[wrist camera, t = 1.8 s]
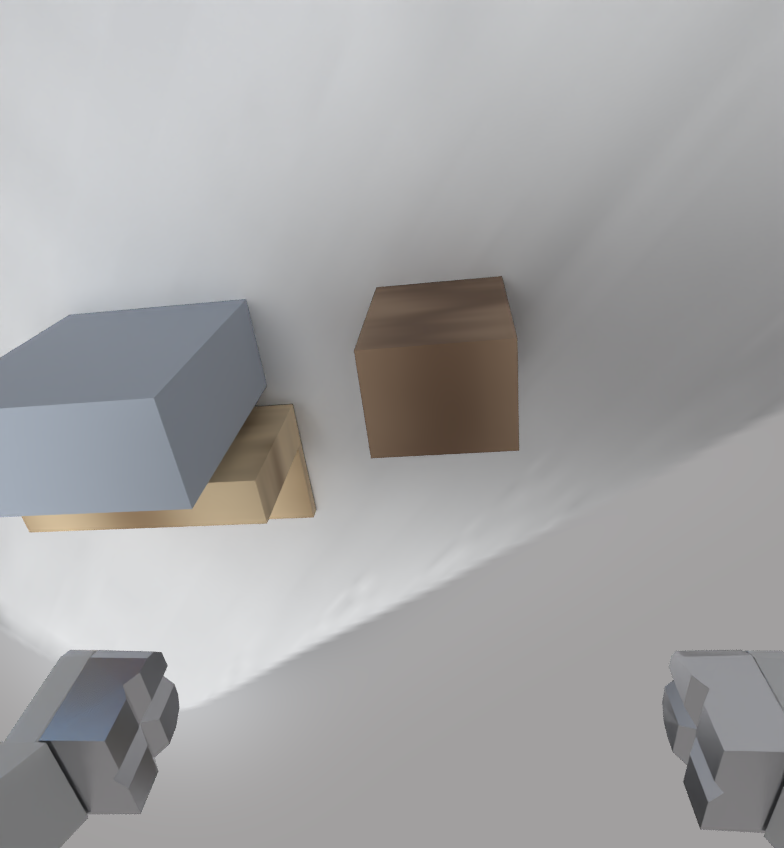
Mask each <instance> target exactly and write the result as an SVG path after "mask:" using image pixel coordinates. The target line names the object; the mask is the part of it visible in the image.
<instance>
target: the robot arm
mask: <svg viewBox="0 0 784 848" xmlns="http://www.w3.org/2000/svg"><path fill="white" fill-rule="evenodd" d="M166 668H167V663H166V661H165V659H164V657H163V654H162V652H146V651H111V650H70V651H68V652H67V653H66V654H64V655H63V656H61V657H60V659H59V660H58V662H57V663H56V665H55V666H54V668H53V669H52V671H51V672H50V674H49V675H48V677H47V678H46V679H45V681H44V682H43V684H42V686H41V687H40V688H39V690H38V692H37V693H36V695H35V696H34V697H33V699H32V701H31V702H30V704H29V705H28V706H27V708H26V710H25V711H24V712H23V714H22V716H21V717H20V719H19V720H18V721H17V723H16V724H15V726H14V727H13V729H12V730H11V732H10V734H9V735H8V736H7V738H6V739H5V741H4V742H3V741H2V742H0V848H60V847H61V846H62V845H63V844H64V843H65V842H66V841H67V840H68V839H69V838H70V837H71V835H72V834H73V833H74V832H75V831H76V830H77V829H78V828H79V827H80V826H81V825H82V824H83V823H84V822H85V821H86V819H88V815H87V814H141V812H142V809H143V807H144V805H145V802H146V800H147V797H148V795H149V793H150V790H151V788H152V785H153V783H154V781H155V778H156V776H157V773H158V768H157V765H156V761H155V757H156V756H157V755H158V754H159V753H160V752H161V751H162V750H163V749H164V748H166V747H167V746H168V745H169V744H170V741H171V739H172V736H173V734H174V731H175V728H176V724H177V718H178V712H179V699H178V693H177V690H176V687H175V684H174V683H172V682H171V681H170V680H168V679H167V678H166V677H164V676H163V675H164V673H165V671H166ZM669 669H670V672H671V674H672V676H673V679H674V680H673V681H672V682H670V683H669V684H668V685H667V686H665V688H664V695H663V701H662V705H663V717H664V718H663V719H664V724H665V729H666V733H667V737H668V740H669V743H670V746H671V748H672V751H673V753H675V755H677V756H678V757H679V758H680V759H681V760H682V761H683V762H684V763H685V764H686V765H687V769H686V773H685V777H684V781H683V782H684V785H685V788H686V791H687V794H688V797H689V799H690V802H691V805H692V807H693V810H694V813H695V816H696V818H697V821H698V824H699V827H700V829H703V830H722V831H740V832H757V833H765V834H764V837H765V838H766V839H767V840H768V841H769V843H770V844H771V845H772V846H773V847H774V848H784V652H783V651H742V650H698V651H697V650H695V651H675V653H674V654H673V655H672V656H671V661H670V665H669Z"/></svg>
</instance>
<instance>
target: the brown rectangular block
mask: <svg viewBox="0 0 784 848" xmlns="http://www.w3.org/2000/svg"><path fill="white" fill-rule="evenodd" d="M354 354H355V360H356V366H357V373H358V379H359V385H360V392H361V398H362V404H363V410H364V417H365V423H366V429H367V436H368V442H369V448H370V455H371V458H384V457H403V456H423V455H442V454H461V453H481V452H500V451H519V414H518V351H517V335H516V331H515V327H514V323H513V319H512V315H511V311H510V307H509V303H508V299H507V295H506V291H505V287H504V283H503V279H502V276H499V277H487V278H476V279H465V280H454V281H442V282H431V283H420V284H409V285H398V286H386V287H376V290H375V293H374V296H373V298H372V301H371V304H370V307H369V310H368V312H367V315H366V318H365V321H364V324H363V327H362V329H361V332H360V335H359V338H358V341H357V344H356V346H355V349H354Z"/></svg>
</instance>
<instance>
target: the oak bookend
mask: <svg viewBox="0 0 784 848" xmlns="http://www.w3.org/2000/svg"><path fill="white" fill-rule="evenodd" d="M315 511H316V507H315V503H314V498H313V494H312V489H311V485H310V480H309V476H308V471H307V467H306V462H305V458H304V453H303V449H302V444H301V440H300V435H299V431H298V426H297V422H296V417H295V413H294V408H293V404H287V405H272V406H257V407H253V409H252V411H251V412H250V414H249V416H248V417H247V419H246V421H245V422H244V424H243V426H242V427H241V429H240V431H239V432H238V434H237V436H236V437H235V439H234V441H233V442H232V444H231V446H230V447H229V449H228V451H227V452H226V454H225V455H224V457H223V459H222V460H221V462H220V464H219V465H218V467H217V469H216V470H215V472H214V474H213V475H212V477H211V479H210V480H209V482H208V484H207V485H206V487H205V489H204V490H203V492H202V494H201V495H200V497H199V499H198V500H197V502H196V504H195V505H194V507H193V508H192V509H181V510H157V511H133V512H109V513H85V514H61V515H37V516H22V518H23V520H24V522H25V524H26V526H27V528H28V530H29V532H53V531H79V530H105V529H132V528H158V527H185V526H211V525H238V524H264V523H267V522H268V520H269V519H282V518H307V517H314V515H315Z"/></svg>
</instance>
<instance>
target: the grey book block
mask: <svg viewBox="0 0 784 848" xmlns="http://www.w3.org/2000/svg"><path fill="white" fill-rule="evenodd" d="M266 386H267V384H266V380H265V376H264V372H263V367H262V363H261V359H260V355H259V351H258V347H257V343H256V338H255V334H254V330H253V326H252V322H251V318H250V314H249V309H248V305H247V301H246V299H241V300H230V301H219V302H208V303H197V304H185V305H174V306H163V307H152V308H141V309H130V310H118V311H107V312H96V313H85V314H74V315H68V316H67V317H65V318H63V319H62V320H60V321H59V322H57V323H55V324H54V325H52V326H51V327H49V328H47V329H46V330H44V331H42V332H41V333H39V334H38V335H36V336H34V337H33V338H31V339H30V340H28V341H26V342H25V343H23V344H22V345H20V346H18V347H17V348H15V349H13V350H12V351H10V352H9V353H7V354H5V355H4V356H2V357H1V358H0V517H13V516H37V515H61V514H85V513H109V512H133V511H157V510H181V509H192V508H193V507H194V505H195V504H196V502H197V500H198V499H199V497H200V495H201V494H202V492H203V490H204V489H205V487H206V485H207V484H208V482H209V480H210V479H211V477H212V475H213V474H214V472H215V470H216V469H217V467H218V465H219V464H220V462H221V460H222V459H223V457H224V455H225V454H226V452H227V451H228V449H229V447H230V446H231V444H232V442H233V441H234V439H235V437H236V436H237V434H238V432H239V431H240V429H241V427H242V426H243V424H244V422H245V421H246V419H247V417H248V416H249V414H250V412H251V411H252V409H253V407H254V406H255V404H256V402H257V401H258V399H259V398H260V396H261V394H262V393H263V391H264V389H265V388H266Z"/></svg>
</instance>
